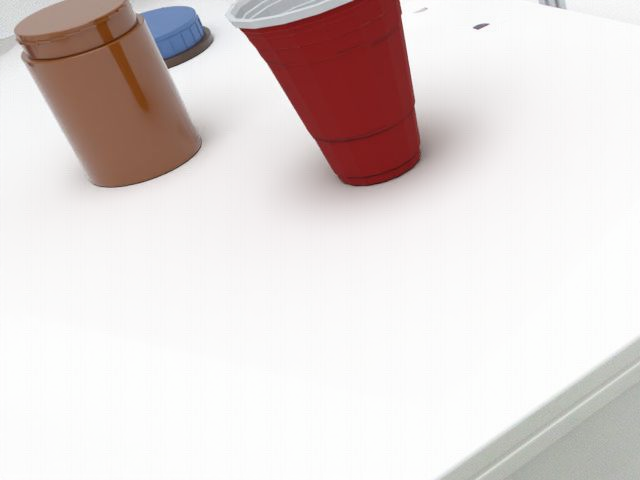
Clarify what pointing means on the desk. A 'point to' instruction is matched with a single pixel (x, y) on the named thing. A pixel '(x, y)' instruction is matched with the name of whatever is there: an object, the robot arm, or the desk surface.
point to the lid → (174, 29)
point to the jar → (108, 89)
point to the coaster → (191, 50)
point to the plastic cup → (342, 78)
